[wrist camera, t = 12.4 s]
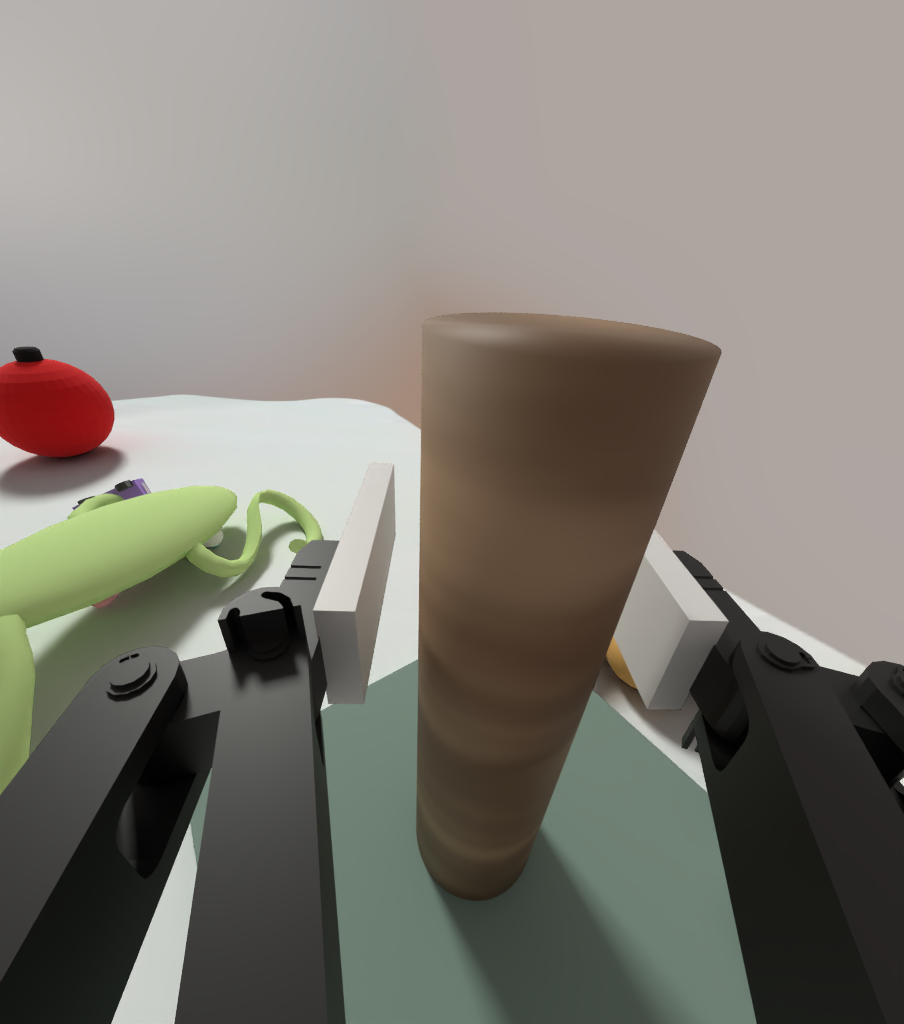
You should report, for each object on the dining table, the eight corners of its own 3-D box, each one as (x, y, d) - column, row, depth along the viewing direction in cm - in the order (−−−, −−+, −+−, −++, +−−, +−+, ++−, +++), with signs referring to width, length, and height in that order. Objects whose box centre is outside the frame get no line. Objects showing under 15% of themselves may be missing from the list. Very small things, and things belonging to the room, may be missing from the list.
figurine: (-456, 764, 16) (-648, 668, 13) (177, 484, 37) (157, 424, 34) (-262, 1068, 10) (-523, 1019, 7) (349, 534, 32) (343, 468, 29)
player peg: (461, 936, 12) (586, 380, 3) (395, 807, 15) (372, 316, 6) (555, 842, 14) (776, 348, 6) (481, 744, 17) (553, 310, 8)
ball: (712, 646, 21) (668, 712, 21) (638, 602, 23) (599, 660, 23) (710, 632, 18) (659, 710, 17) (625, 583, 20) (580, 651, 20)
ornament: (148, 446, 43) (113, 345, 38) (52, 480, 36) (-7, 361, 31) (88, 432, 46) (48, 336, 41) (-13, 462, 38) (-79, 348, 33)
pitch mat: (406, 2091, 5) (404, 2206, 4) (192, 796, 16) (184, 783, 15) (842, 940, 13) (859, 929, 12) (504, 625, 24) (506, 612, 23)
